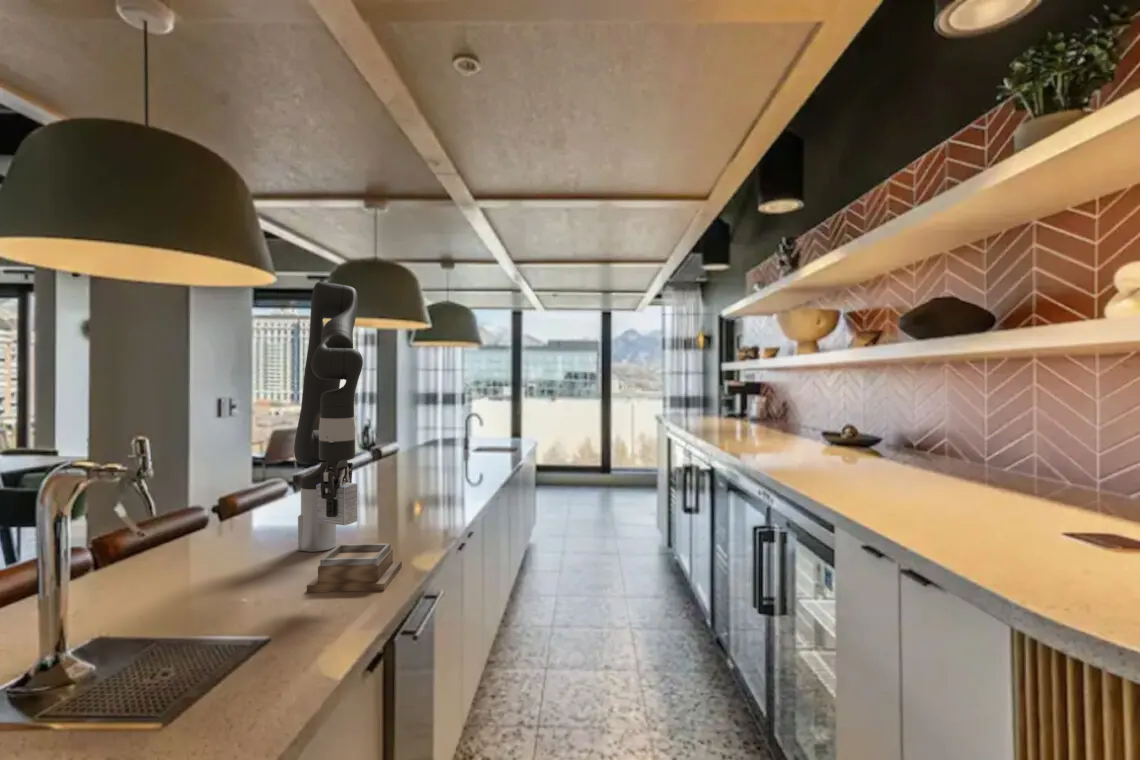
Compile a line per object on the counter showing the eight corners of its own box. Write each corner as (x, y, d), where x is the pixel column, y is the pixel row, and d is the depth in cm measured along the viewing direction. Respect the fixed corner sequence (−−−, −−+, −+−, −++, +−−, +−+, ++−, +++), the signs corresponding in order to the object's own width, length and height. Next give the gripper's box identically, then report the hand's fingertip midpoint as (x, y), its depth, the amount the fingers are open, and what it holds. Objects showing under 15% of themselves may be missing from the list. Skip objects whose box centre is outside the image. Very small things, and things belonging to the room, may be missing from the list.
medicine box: (358, 521, 134) (358, 483, 134) (344, 526, 130) (344, 486, 130) (329, 518, 137) (330, 480, 136) (315, 523, 132) (315, 483, 132)
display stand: (306, 592, 133) (306, 562, 133) (333, 568, 150) (332, 542, 150) (384, 590, 134) (384, 561, 134) (401, 566, 150) (401, 541, 151)
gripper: (331, 434, 140) (331, 505, 140) (307, 441, 125) (306, 521, 126) (364, 434, 140) (364, 505, 140) (343, 441, 126) (342, 521, 126)
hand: (336, 512), depth 133 cm, fingers closed on medicine box, 5 cm apart
